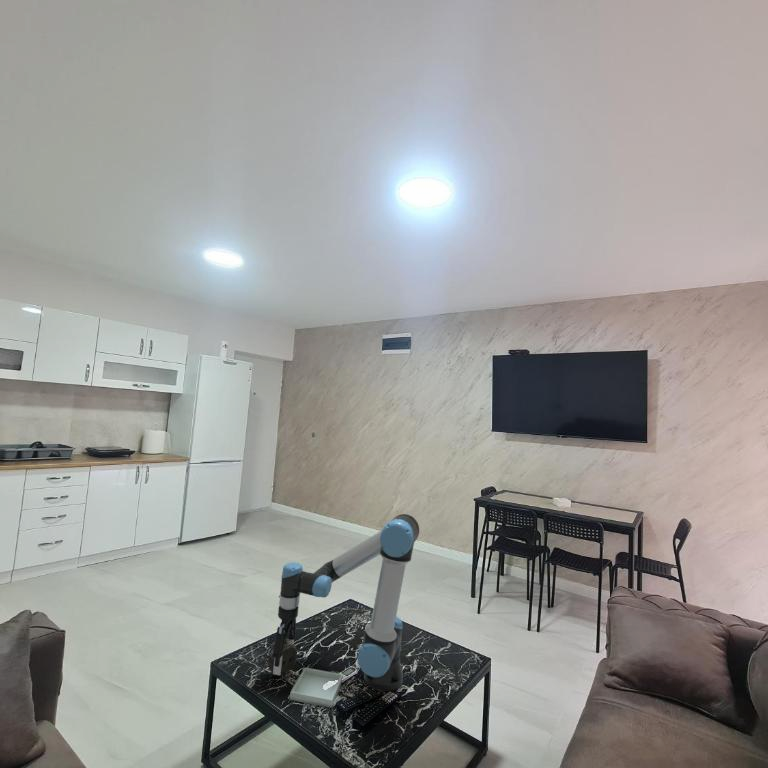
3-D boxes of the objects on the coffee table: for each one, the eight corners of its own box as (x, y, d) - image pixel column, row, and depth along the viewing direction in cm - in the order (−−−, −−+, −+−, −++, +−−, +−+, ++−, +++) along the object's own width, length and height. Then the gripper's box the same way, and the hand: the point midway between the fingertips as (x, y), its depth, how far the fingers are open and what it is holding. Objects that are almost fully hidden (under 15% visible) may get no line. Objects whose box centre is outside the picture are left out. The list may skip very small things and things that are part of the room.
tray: (342, 681, 158) (343, 674, 158) (331, 707, 143) (332, 700, 143) (304, 674, 161) (304, 667, 161) (289, 699, 146) (290, 692, 146)
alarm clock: (289, 667, 164) (293, 624, 166) (297, 673, 161) (301, 629, 162) (265, 677, 156) (269, 632, 158) (272, 684, 153) (277, 638, 154)
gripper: (290, 592, 173) (285, 647, 171) (266, 617, 150) (260, 681, 148) (307, 595, 172) (302, 650, 170) (286, 621, 149) (280, 685, 147)
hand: (282, 665), depth 159 cm, fingers closed on alarm clock, 11 cm apart
